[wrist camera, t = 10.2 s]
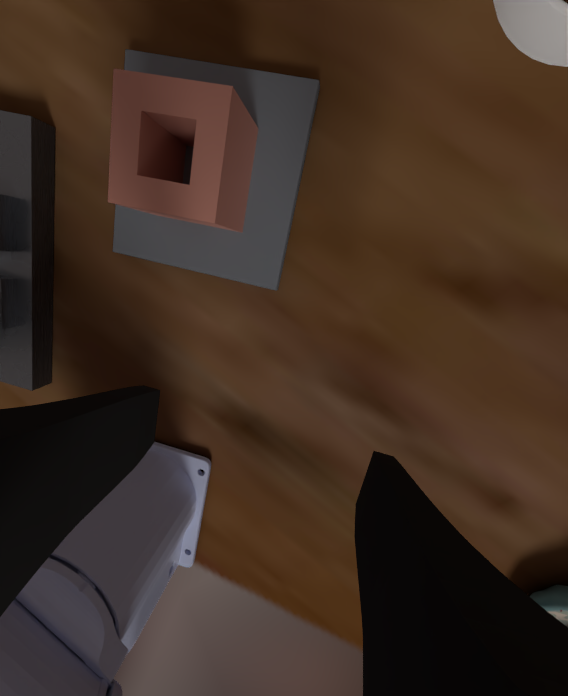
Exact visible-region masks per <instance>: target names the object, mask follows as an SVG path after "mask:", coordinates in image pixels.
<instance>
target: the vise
mask: <svg viewBox="0 0 568 696" xmlns="http://www.w3.org/2000/svg"><path fill="white" fill-rule="evenodd" d="M54 177H55V127H52V126H50V125H48V124H46V123H44V122H42V121H40V120H38V119H36V118H34V117H32V116H27V115H22V114H17V113H12V112H6V111H1V110H0V381H2V382H5V383H8V384H12V385H15V386H18V387H22V388H25V389H28V390H32V391H33V390H35V389H38V388H40V387H43V386H45V385H48V384H50V383H52V320H53V249H54Z"/></svg>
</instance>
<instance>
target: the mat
mask: <svg viewBox="0 0 568 696" xmlns="http://www.w3.org/2000/svg"><path fill="white" fill-rule="evenodd" d="M124 70H128V71H134V72H141V73H148V74H155V75H161V76H168V77H175V78H182V79H188V80H195V81H202V82H209V83H215V84H222V85H229V86H233V88H234V89H235V91H236V92H237V94H238V96H239V97H240V99H241V101H242V102H243V104H244V106H245V107H246V109H247V111H248V112H249V114H250V115H251V117H252V119H253V120H254V122H255V124H256V125H257V127H258V135H257V141H256V148H255V154H254V161H253V167H252V174H251V180H250V187H249V193H248V200H247V206H246V213H245V219H244V226H243V232H242V233H241V232H236V231H232V230H227V229H222V228H217V227H212V226H207V225H202V224H197V223H192V222H187V221H182V220H177V219H172V218H167V217H162V216H157V215H153V214H150V213H146V212H142V211H139V210H135V209H131V208H128V207H124V206H120V205H117V204H116V208H115V224H114V239H113V252H116V253H121V254H125V255H129V256H133V257H137V258H142V259H146V260H150V261H154V262H158V263H163V264H167V265H171V266H175V267H180V268H184V269H188V270H192V271H196V272H201V273H205V274H209V275H213V276H218V277H222V278H226V279H230V280H234V281H239V282H243V283H247V284H251V285H255V286H260V287H264V288H268V289H272V290H278V287H279V282H280V277H281V273H282V268H283V263H284V258H285V253H286V249H287V244H288V239H289V234H290V229H291V224H292V220H293V215H294V210H295V205H296V200H297V195H298V191H299V186H300V181H301V176H302V171H303V166H304V162H305V157H306V152H307V147H308V142H309V137H310V133H311V128H312V123H313V118H314V113H315V108H316V104H317V99H318V94H319V89H320V83H319V80H315V79H309V78H302V77H296V76H290V75H284V74H278V73H271V72H265V71H259V70H253V69H246V68H240V67H234V66H228V65H222V64H215V63H209V62H203V61H197V60H190V59H184V58H178V57H172V56H166V55H159V54H153V53H147V52H141V51H134V50H128V49H126V50H125V65H124ZM193 148H194V147H192V146H186V154H185V164H184V174H183V184H187V185H190V176H191V167H192V158H193Z"/></svg>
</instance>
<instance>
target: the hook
mask: <svg viewBox="0 0 568 696" xmlns="http://www.w3.org/2000/svg"><path fill="white" fill-rule="evenodd" d="M493 2H494V6H495V10H496V14H497V17H498V21H499V23H500V25H501V26H502V28H503V30H504V32H505V34H506V36H507V37H508V38H509V39H510V41H511V42H512V43H513V44H514V45H515V46H516V47H517V49H519V50H520V51H522V52H523V53H524V54H526V55H527V56H529V57H530V58H532V59H534V60H537V61H540V62H543V63H546V64H548V65H557V66H566V67H568V4H567V3H566V2H564V1H563V0H493Z"/></svg>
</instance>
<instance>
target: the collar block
mask: <svg viewBox="0 0 568 696" xmlns="http://www.w3.org/2000/svg"><path fill="white" fill-rule="evenodd" d="M257 135H258V127H257V125H256V124H255V122H254V120H253V119H252V117H251V115H250V114H249V112H248V111H247V109H246V107H245V106H244V104H243V102H242V101H241V99H240V97H239V96H238V94H237V92H236V91H235V89H234V88H233V86H229V85H222V84H215V83H209V82H202V81H195V80H188V79H182V78H175V77H168V76H161V75H155V74H148V73H141V72H134V71H128V70H121V69H114V72H113V95H112V118H111V141H110V164H109V187H108V202H109V203H113V204H117V205H120V206H124V207H128V208H131V209H135V210H139V211H142V212H146V213H150V214H153V215H157V216H162V217H167V218H172V219H177V220H182V221H187V222H192V223H197V224H202V225H207V226H212V227H217V228H222V229H227V230H232V231H236V232H241V233H242V232H243V226H244V219H245V213H246V206H247V200H248V193H249V187H250V180H251V174H252V167H253V161H254V154H255V148H256V141H257ZM186 146H192V147H194V148H193V158H192V167H191V176H190V185H187V184H183V174H184V164H185V154H186Z"/></svg>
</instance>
